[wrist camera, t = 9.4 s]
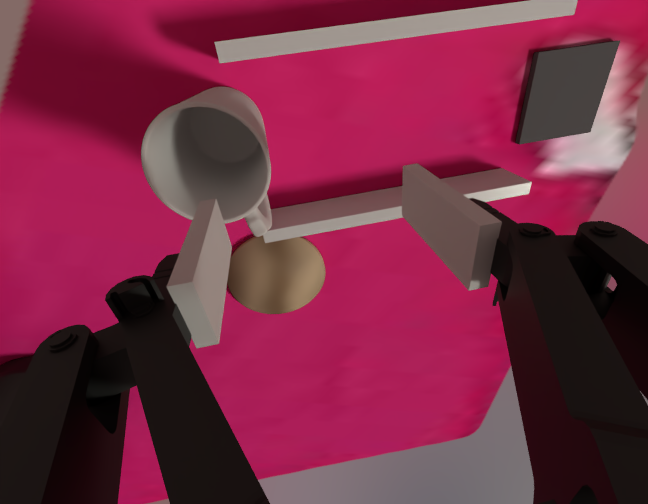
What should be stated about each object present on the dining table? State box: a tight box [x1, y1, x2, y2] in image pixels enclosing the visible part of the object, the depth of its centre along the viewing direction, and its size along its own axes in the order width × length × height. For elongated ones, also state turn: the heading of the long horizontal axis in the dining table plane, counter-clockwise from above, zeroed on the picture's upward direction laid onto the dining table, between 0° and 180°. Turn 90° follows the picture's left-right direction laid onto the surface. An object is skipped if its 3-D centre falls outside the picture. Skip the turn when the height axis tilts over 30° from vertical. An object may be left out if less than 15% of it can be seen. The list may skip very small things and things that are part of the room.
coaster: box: [227, 235, 325, 314], centre depth 36 cm, size 11×11×1 cm
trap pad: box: [515, 41, 620, 144], centre depth 31 cm, size 8×8×1 cm
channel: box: [214, 0, 578, 243], centre depth 28 cm, size 26×15×4 cm, turn 97°
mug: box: [141, 87, 272, 237], centre depth 23 cm, size 10×7×12 cm, turn 25°
